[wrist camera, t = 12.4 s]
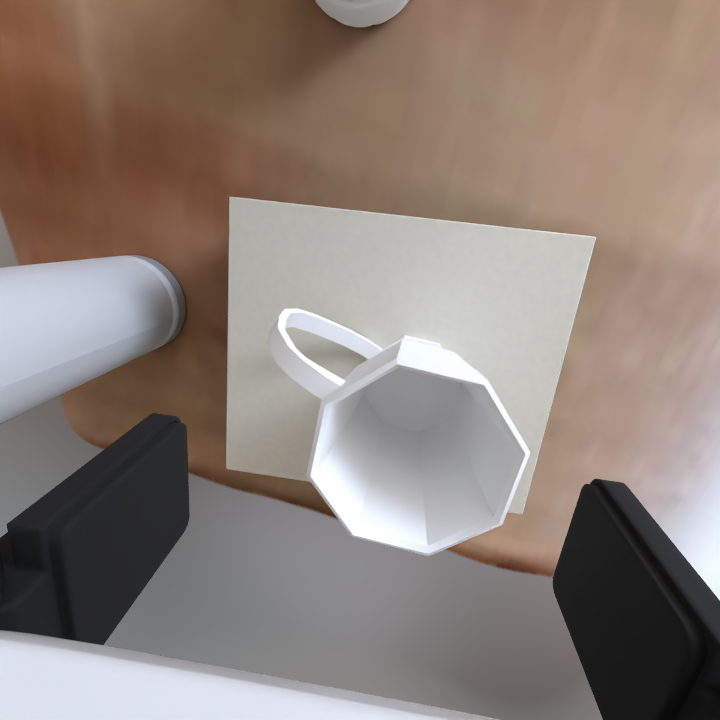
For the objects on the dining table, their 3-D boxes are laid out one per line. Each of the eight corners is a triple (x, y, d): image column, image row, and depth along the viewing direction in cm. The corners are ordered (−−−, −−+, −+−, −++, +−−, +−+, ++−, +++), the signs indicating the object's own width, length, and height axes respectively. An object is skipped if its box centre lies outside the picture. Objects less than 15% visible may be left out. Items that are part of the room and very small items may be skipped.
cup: (425, 467, 22) (434, 592, 15) (264, 358, 21) (185, 430, 14) (516, 364, 20) (582, 448, 13) (342, 238, 19) (300, 246, 12)
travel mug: (96, 242, 28) (-570, 275, 9) (192, 267, 28) (-275, 356, 9) (92, 333, 30) (-460, 517, 11) (182, 357, 30) (-219, 588, 11)
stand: (274, 204, 26) (228, 196, 19) (545, 234, 25) (596, 237, 18) (265, 417, 30) (225, 471, 24) (495, 451, 29) (522, 517, 23)
